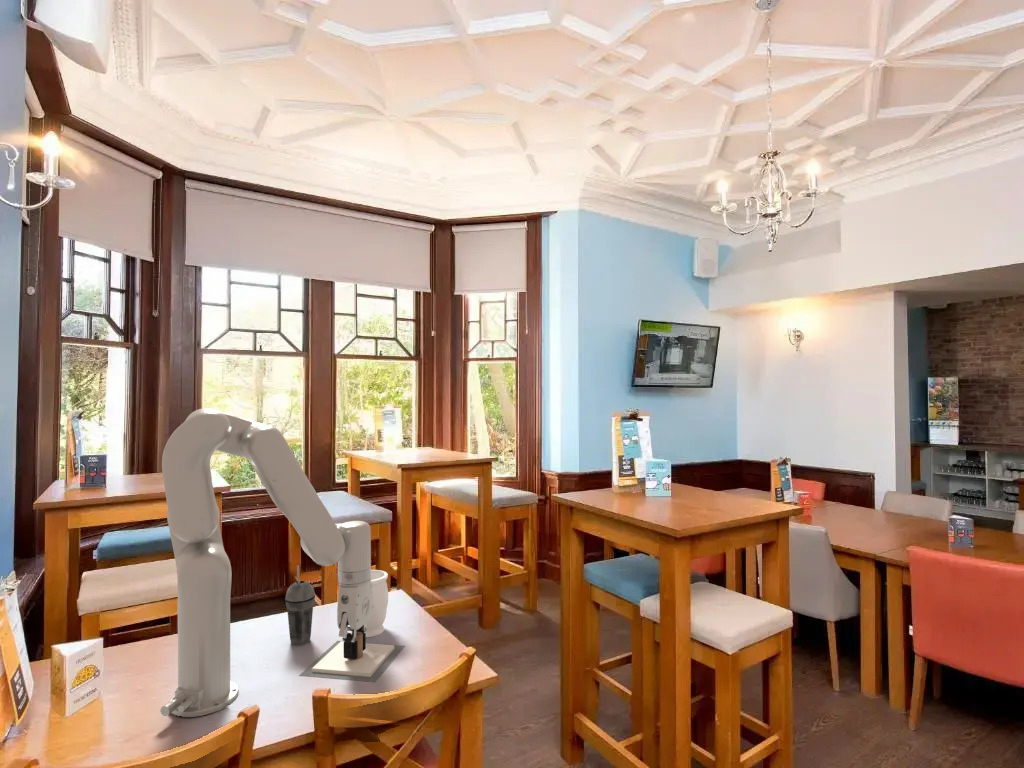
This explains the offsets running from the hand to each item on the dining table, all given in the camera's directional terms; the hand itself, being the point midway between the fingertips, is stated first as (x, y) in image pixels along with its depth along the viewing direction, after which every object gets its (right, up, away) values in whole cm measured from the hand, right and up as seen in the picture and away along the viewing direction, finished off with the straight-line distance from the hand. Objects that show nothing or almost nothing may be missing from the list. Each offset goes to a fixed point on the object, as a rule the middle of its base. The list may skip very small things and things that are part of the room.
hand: (354, 653), depth 135 cm
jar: (-1, -2, +16) cm, 17 cm away
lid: (0, -2, 0) cm, 2 cm away
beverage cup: (-16, -3, +10) cm, 19 cm away
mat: (0, -2, 0) cm, 2 cm away
